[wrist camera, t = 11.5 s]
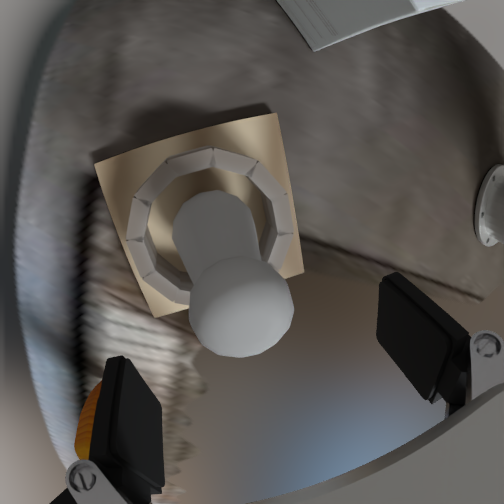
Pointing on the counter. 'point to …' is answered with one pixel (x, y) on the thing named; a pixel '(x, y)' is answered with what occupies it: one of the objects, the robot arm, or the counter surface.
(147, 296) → the ring holder
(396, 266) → the counter surface
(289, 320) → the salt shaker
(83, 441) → the carrot
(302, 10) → the supplement box
